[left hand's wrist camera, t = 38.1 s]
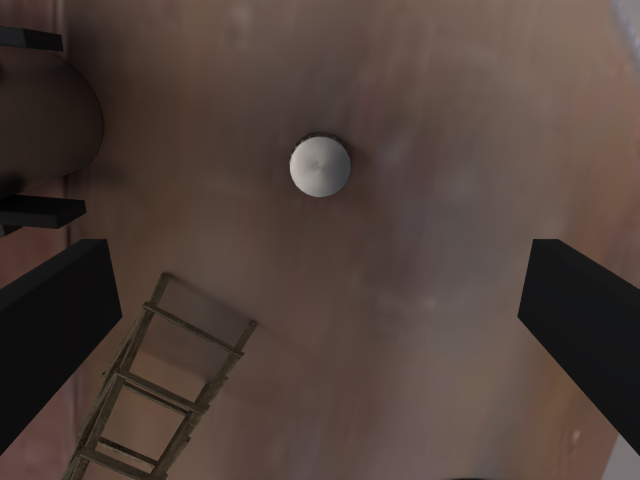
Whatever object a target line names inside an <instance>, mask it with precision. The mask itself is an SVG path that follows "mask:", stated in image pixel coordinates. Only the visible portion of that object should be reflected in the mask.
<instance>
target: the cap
mask: <svg viewBox="0 0 640 480" xmlns="http://www.w3.org/2000/svg"><path fill="white" fill-rule="evenodd" d="M291 155H292V157H291V159H290V161H289V163H290V174H291V177H292V180H293V182H294V183H295V185H296V186H297V187H298V188H299V189H300V190H301V191H302V192H304V193H306V194H308V195H310V196H314V197H327V196H330V195H333V194H335V193H337V192H338V191H339V190H341V189H342V188H343V187H344V185H345V184H346V182H347V180H348V178H349V175H350V170H351V163H350V156H349V153H347V148H346V146H344V145H343V143H342V142H341V140H339V139H338V138H336V137H335V136H334V135H331V134H328V133H327V132H325V133H323V132H317V133H312V134H311V133H309V135H307V136H305V137H302V139H301V140H300V141H299V142H298V143H297V144H296V146H295V149H294V150H293V151H292V154H291Z"/></svg>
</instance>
